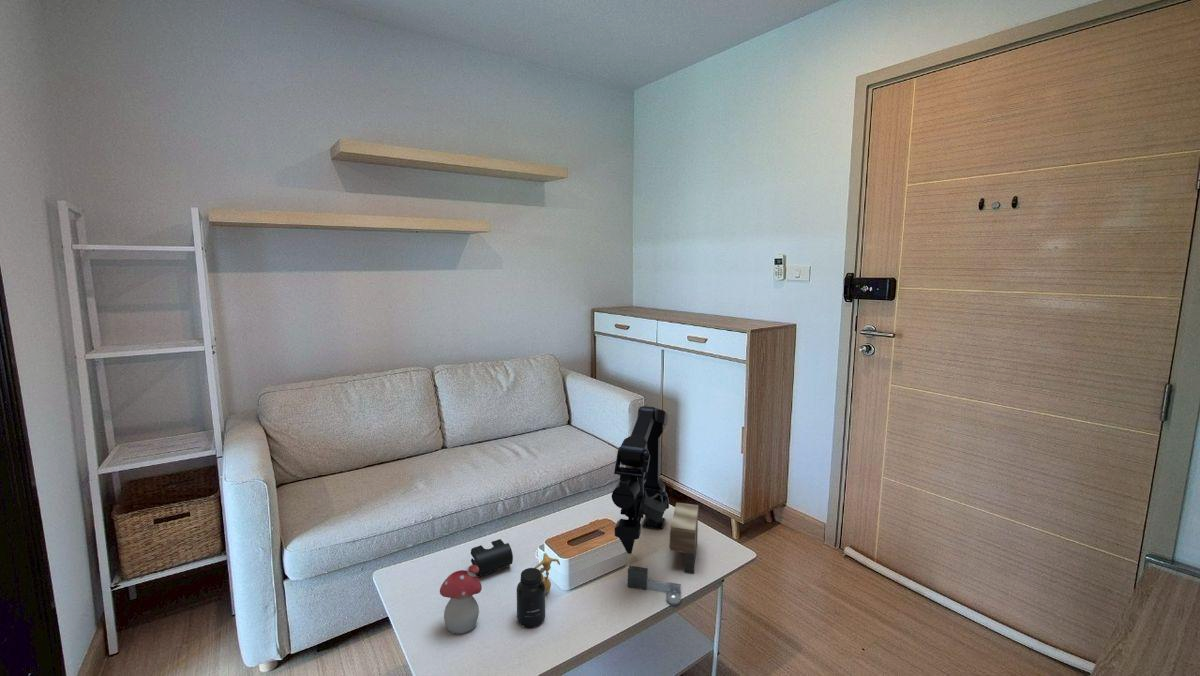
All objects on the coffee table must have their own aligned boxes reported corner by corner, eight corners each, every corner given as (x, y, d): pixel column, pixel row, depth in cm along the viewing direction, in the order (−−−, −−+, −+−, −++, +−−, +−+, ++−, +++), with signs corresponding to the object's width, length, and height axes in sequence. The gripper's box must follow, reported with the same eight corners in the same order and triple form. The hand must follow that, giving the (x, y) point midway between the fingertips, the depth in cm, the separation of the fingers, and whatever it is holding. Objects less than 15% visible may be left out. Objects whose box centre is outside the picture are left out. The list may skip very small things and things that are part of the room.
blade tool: (629, 582, 134) (629, 565, 133) (680, 590, 130) (681, 573, 129) (627, 587, 132) (627, 569, 131) (680, 595, 128) (680, 578, 127)
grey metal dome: (666, 595, 129) (667, 588, 128) (681, 597, 128) (681, 590, 127) (665, 605, 125) (665, 597, 125) (679, 607, 124) (680, 600, 124)
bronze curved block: (674, 542, 152) (675, 502, 150) (697, 545, 150) (698, 505, 148) (668, 570, 139) (669, 526, 137) (693, 573, 137) (695, 530, 135)
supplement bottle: (531, 633, 116) (530, 586, 114) (511, 620, 120) (509, 575, 118) (551, 616, 121) (550, 571, 119) (531, 604, 125) (530, 561, 123)
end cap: (478, 583, 134) (477, 560, 132) (470, 569, 140) (469, 547, 138) (513, 570, 139) (512, 548, 138) (503, 557, 145) (503, 536, 144)
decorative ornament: (486, 616, 121) (483, 560, 119) (477, 637, 115) (475, 577, 112) (448, 615, 122) (445, 558, 119) (438, 635, 115) (434, 576, 113)
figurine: (554, 582, 134) (554, 541, 132) (564, 595, 128) (563, 553, 126) (525, 592, 130) (524, 550, 128) (534, 606, 124) (533, 563, 122)
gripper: (659, 511, 121) (658, 569, 124) (667, 476, 139) (666, 528, 142) (613, 506, 124) (614, 562, 126) (628, 472, 141) (628, 523, 144)
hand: (632, 543), depth 135 cm, fingers open, 9 cm apart
